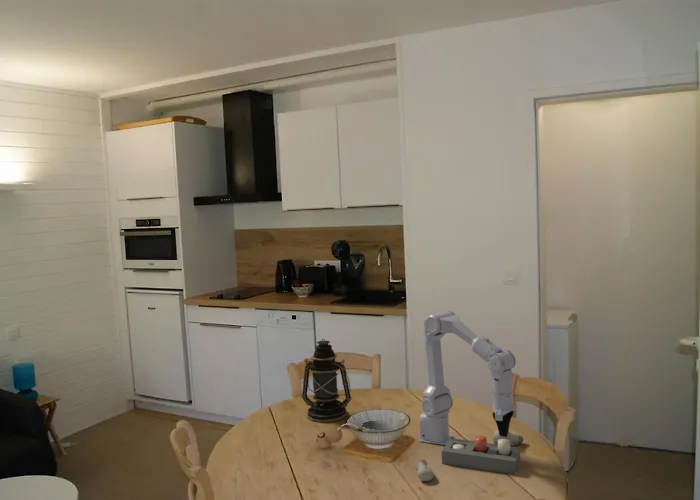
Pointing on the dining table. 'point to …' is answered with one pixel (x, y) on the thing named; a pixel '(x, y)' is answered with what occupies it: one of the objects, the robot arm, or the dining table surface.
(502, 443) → the right plug
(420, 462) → the smooth white sculpture
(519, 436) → the lightbulb
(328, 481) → the dining table surface
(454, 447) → the left plug
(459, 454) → the grey socket block
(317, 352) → the lantern
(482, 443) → the red plug
